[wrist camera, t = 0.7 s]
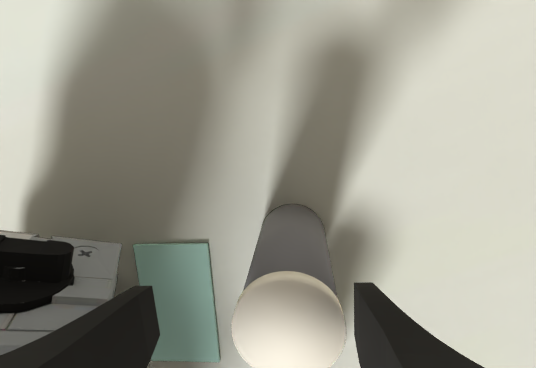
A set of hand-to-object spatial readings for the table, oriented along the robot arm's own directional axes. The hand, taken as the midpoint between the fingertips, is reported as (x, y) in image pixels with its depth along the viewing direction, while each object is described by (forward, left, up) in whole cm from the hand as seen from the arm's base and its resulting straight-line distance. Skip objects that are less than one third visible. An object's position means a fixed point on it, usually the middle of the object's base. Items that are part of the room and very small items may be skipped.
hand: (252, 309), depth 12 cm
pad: (-6, +7, -10) cm, 13 cm away
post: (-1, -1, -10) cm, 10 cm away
